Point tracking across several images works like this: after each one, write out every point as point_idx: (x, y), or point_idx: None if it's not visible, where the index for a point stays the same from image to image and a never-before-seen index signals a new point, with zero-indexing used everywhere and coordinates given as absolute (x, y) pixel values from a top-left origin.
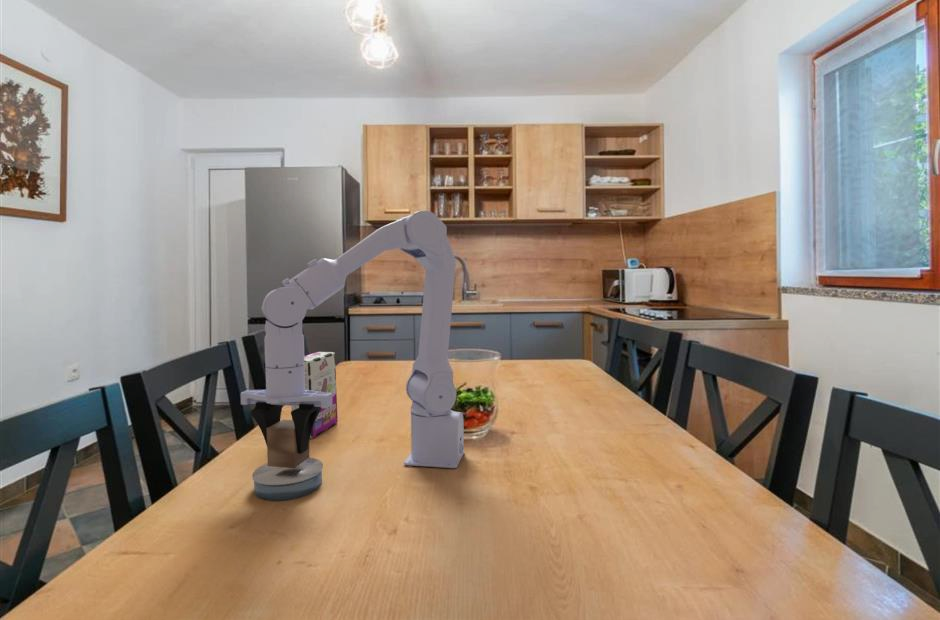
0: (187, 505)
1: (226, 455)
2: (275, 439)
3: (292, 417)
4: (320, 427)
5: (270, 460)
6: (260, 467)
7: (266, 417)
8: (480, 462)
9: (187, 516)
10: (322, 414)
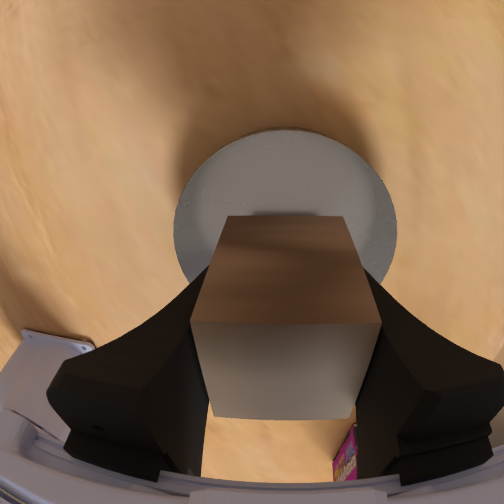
0: (486, 91)
1: (496, 338)
2: (317, 281)
3: (152, 372)
4: (346, 447)
5: (333, 226)
6: (388, 247)
7: (399, 380)
8: (17, 347)
9: (451, 32)
10: (346, 471)
